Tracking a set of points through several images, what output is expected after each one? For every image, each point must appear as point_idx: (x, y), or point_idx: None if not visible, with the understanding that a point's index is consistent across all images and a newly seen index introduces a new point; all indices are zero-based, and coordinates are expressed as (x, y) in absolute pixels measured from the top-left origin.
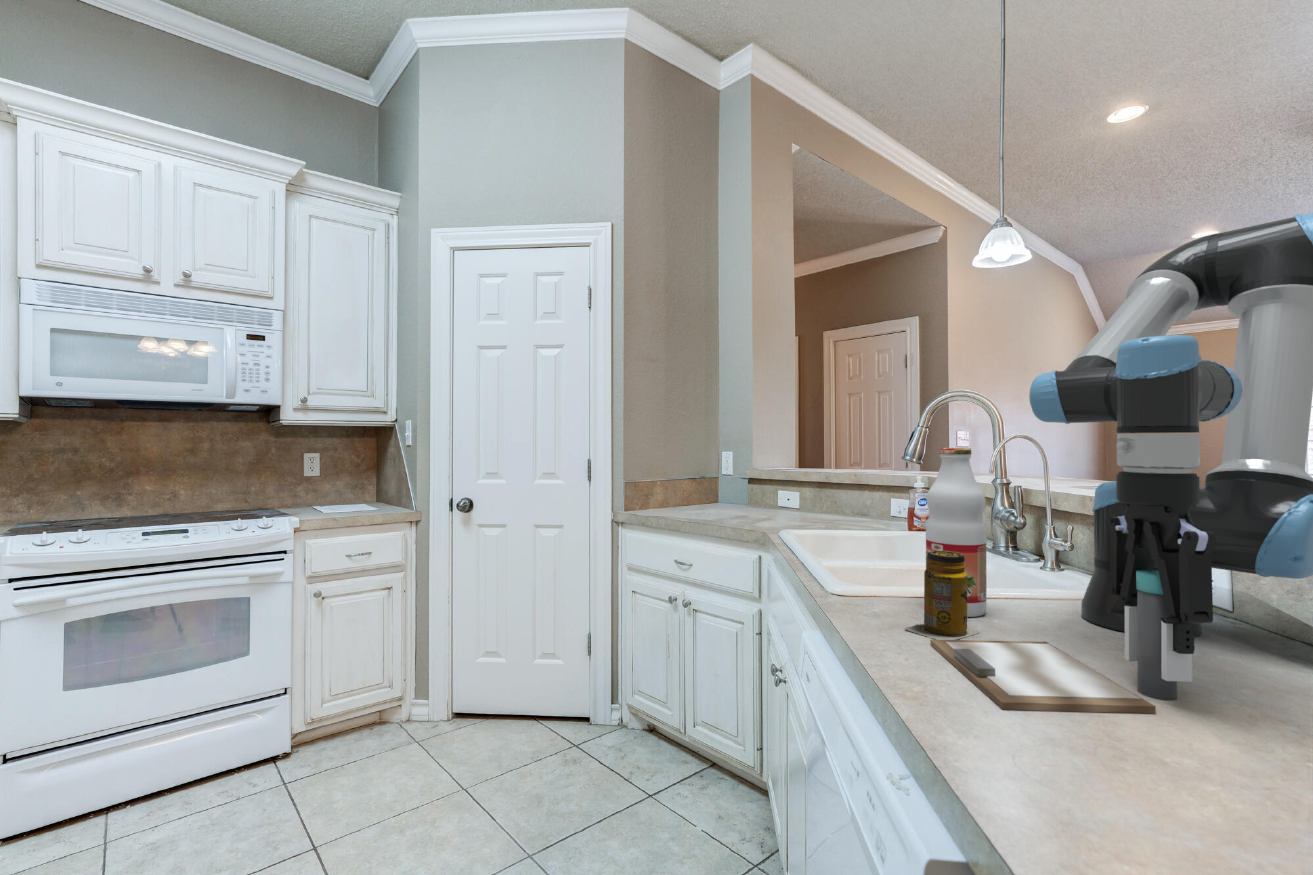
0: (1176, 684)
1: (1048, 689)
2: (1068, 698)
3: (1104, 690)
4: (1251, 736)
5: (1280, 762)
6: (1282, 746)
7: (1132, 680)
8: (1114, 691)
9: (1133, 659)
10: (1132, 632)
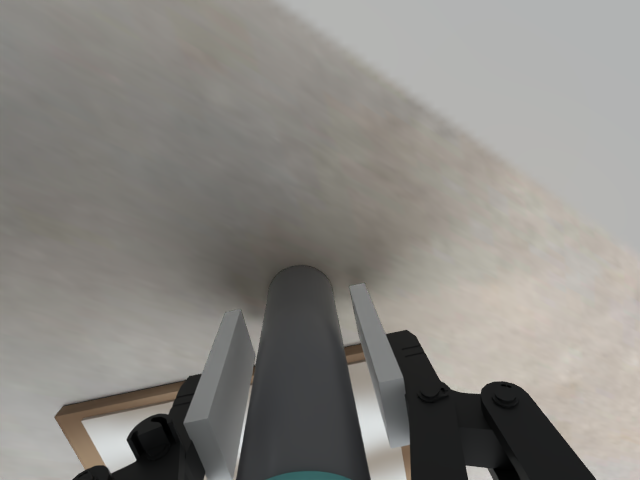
0: (321, 283)
1: (376, 472)
2: (402, 451)
3: (358, 399)
4: (476, 226)
5: (566, 236)
6: (510, 197)
7: (232, 310)
8: (360, 386)
9: (251, 349)
10: (242, 401)
